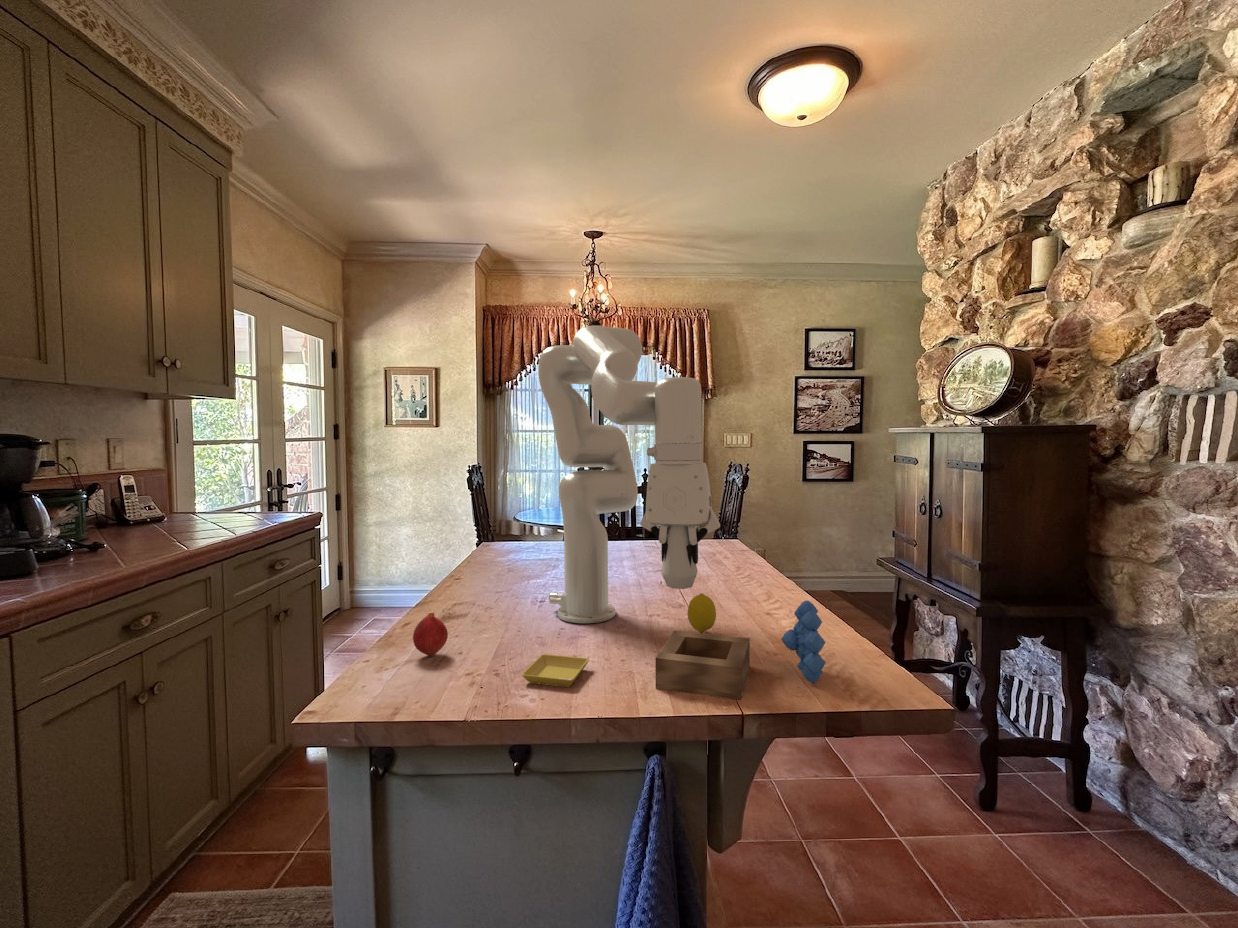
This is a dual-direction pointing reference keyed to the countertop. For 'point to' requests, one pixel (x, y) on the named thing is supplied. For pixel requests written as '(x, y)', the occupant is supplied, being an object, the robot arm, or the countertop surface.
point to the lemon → (701, 613)
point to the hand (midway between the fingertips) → (679, 566)
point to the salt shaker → (678, 560)
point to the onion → (430, 635)
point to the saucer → (555, 670)
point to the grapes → (806, 641)
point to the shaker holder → (703, 664)
